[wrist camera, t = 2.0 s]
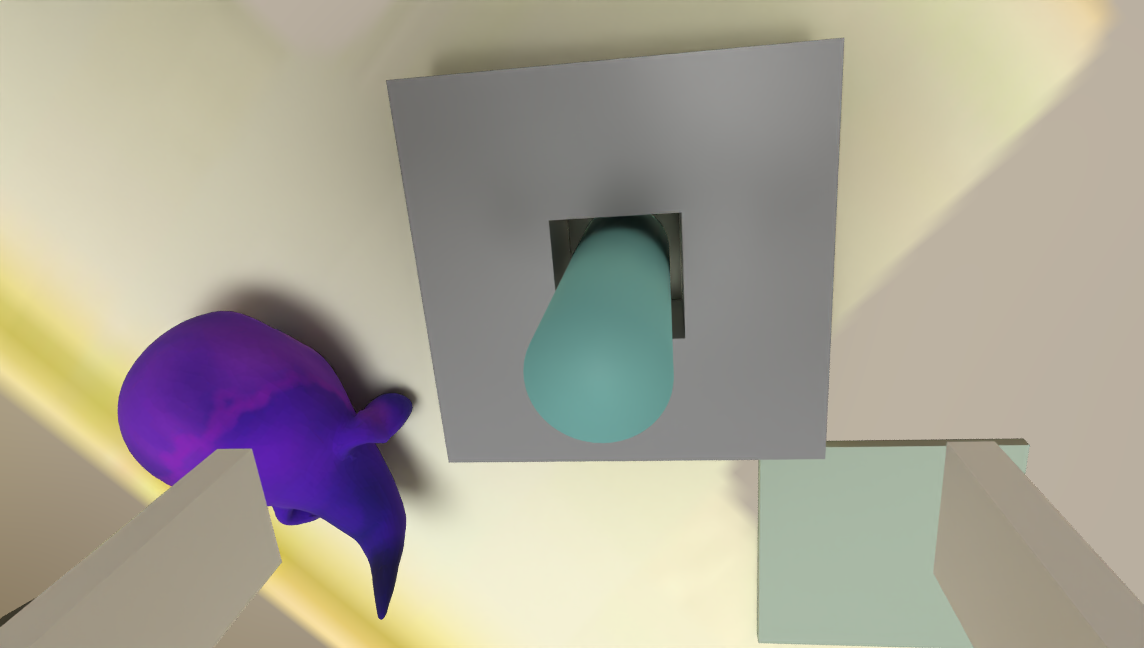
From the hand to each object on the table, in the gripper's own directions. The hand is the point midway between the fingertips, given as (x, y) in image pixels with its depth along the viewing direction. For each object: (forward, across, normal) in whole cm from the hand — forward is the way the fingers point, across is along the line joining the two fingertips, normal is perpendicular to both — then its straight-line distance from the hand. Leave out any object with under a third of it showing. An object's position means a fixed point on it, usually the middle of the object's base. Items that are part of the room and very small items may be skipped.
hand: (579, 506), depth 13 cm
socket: (+20, 0, 0) cm, 20 cm away
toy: (+20, -16, -8) cm, 27 cm away
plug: (+20, 0, 0) cm, 20 cm away
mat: (+20, +12, -16) cm, 28 cm away
